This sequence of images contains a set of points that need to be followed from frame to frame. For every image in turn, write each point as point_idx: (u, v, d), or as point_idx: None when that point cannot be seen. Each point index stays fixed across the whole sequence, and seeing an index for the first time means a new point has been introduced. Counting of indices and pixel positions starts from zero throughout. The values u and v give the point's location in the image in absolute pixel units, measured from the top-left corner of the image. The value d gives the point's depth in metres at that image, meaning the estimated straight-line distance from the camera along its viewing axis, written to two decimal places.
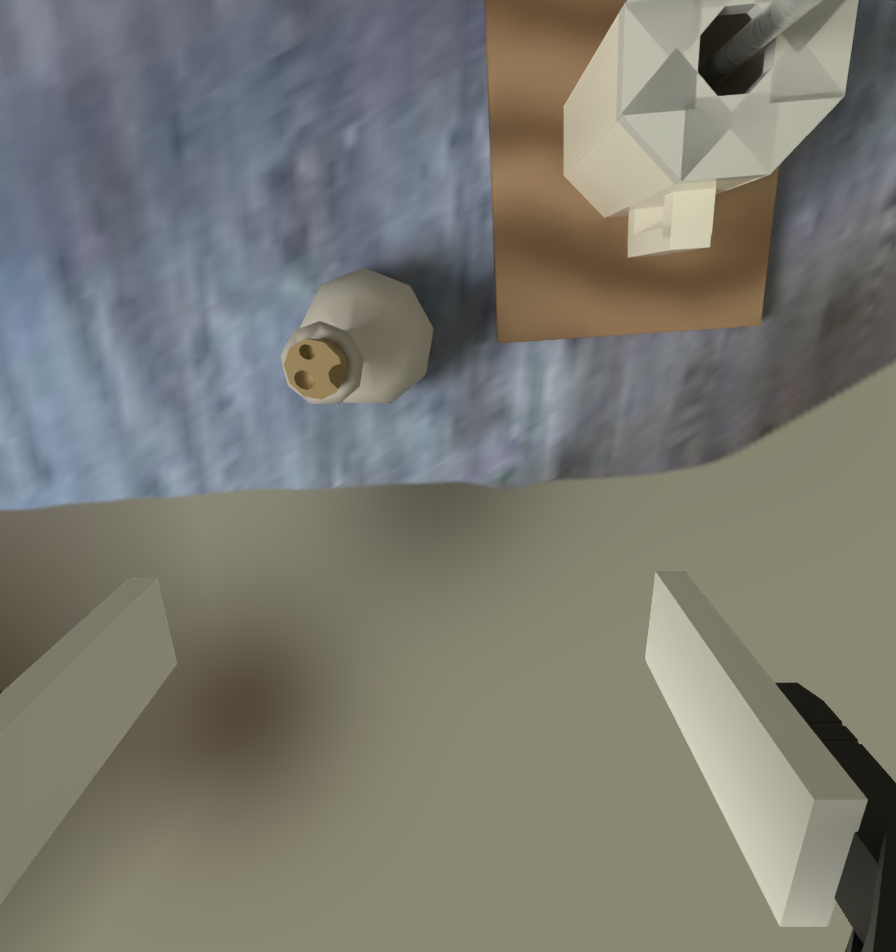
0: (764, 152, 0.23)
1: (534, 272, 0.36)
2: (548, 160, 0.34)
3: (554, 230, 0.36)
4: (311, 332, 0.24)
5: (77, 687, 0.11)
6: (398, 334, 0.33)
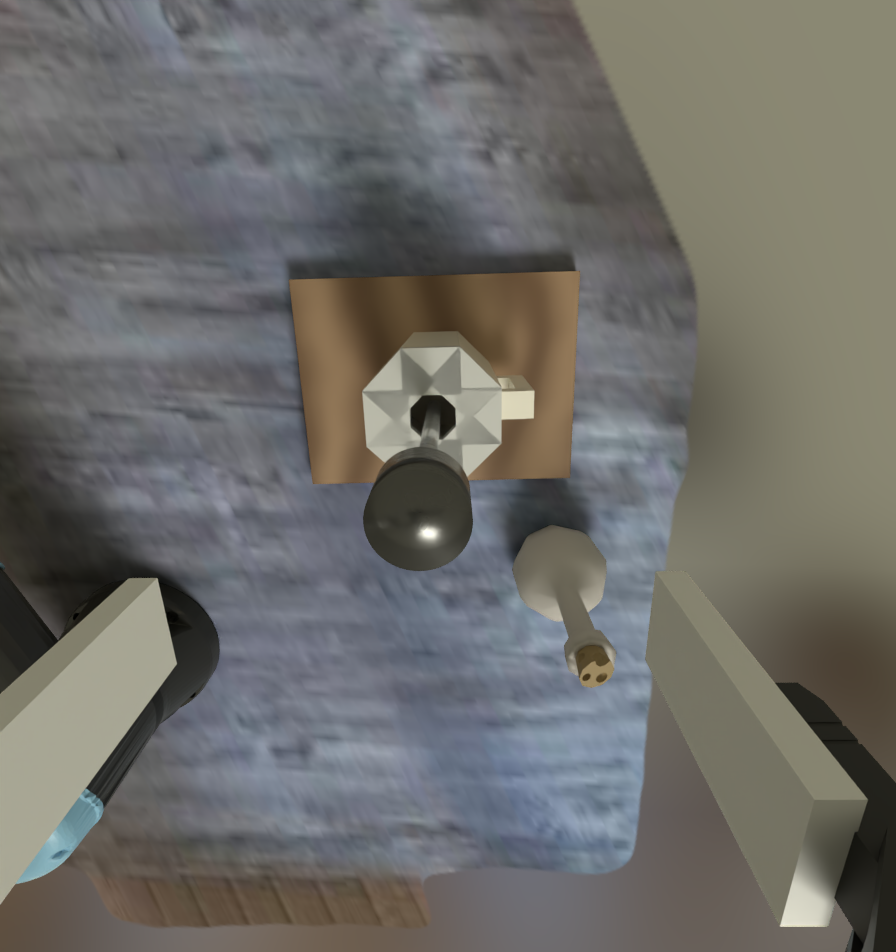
0: (488, 393, 0.35)
1: (522, 452, 0.50)
2: None
3: None
4: (571, 661, 0.40)
5: (77, 687, 0.11)
6: (562, 567, 0.47)
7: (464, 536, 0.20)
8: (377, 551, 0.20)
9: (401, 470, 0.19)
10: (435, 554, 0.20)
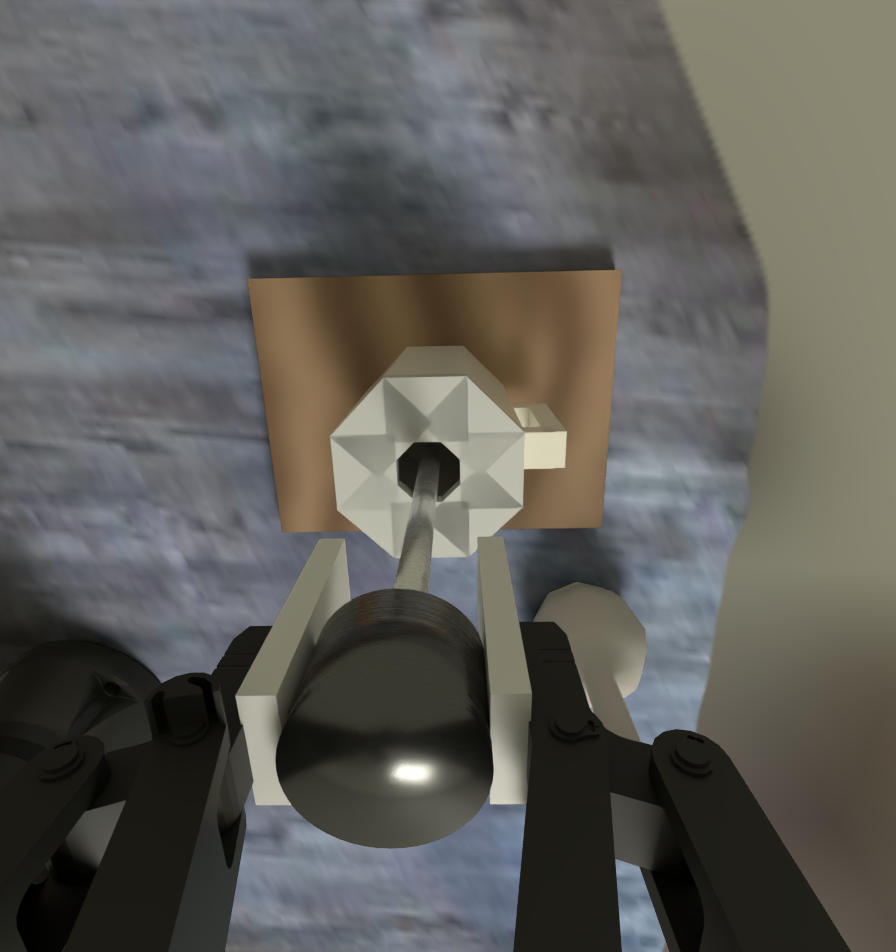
0: (506, 440, 0.25)
1: (542, 496, 0.40)
2: None
3: None
4: None
5: (319, 622, 0.13)
6: (593, 645, 0.37)
7: (476, 795, 0.10)
8: (306, 817, 0.10)
9: (350, 673, 0.10)
10: (419, 823, 0.10)
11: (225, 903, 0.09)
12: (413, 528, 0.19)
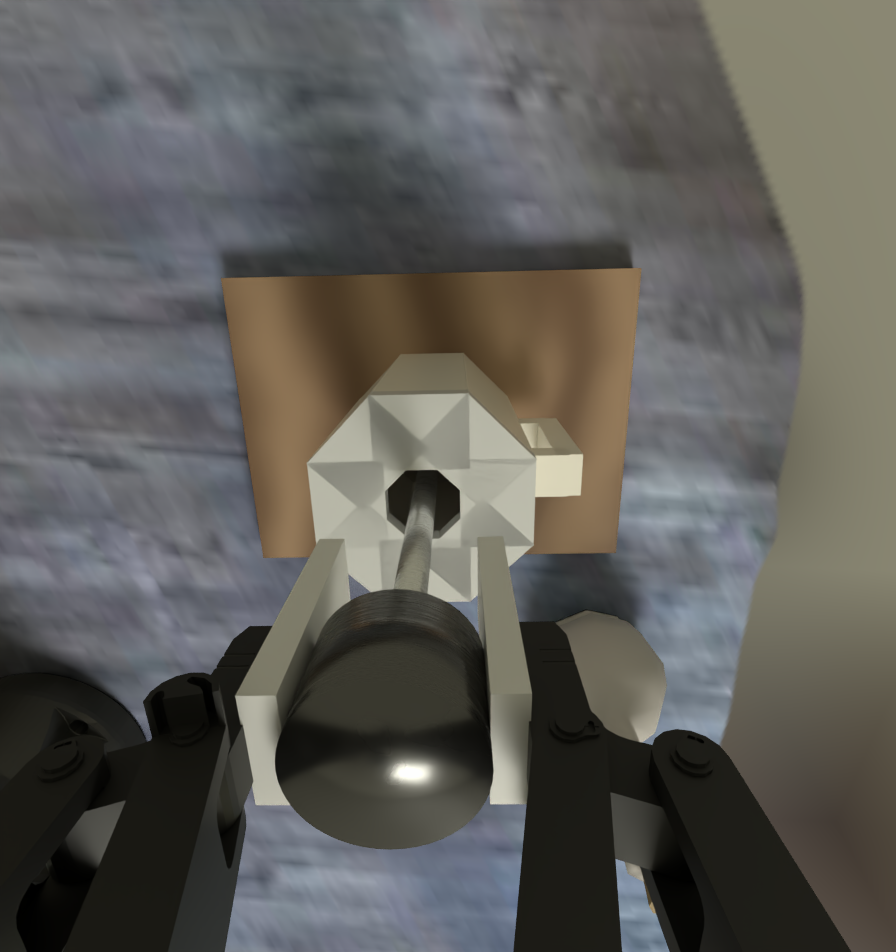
0: (514, 467, 0.21)
1: (551, 519, 0.36)
2: None
3: None
4: None
5: (319, 622, 0.13)
6: (608, 686, 0.34)
7: (476, 795, 0.10)
8: (305, 818, 0.10)
9: (348, 674, 0.10)
10: (419, 823, 0.10)
11: (225, 903, 0.09)
12: (412, 528, 0.19)
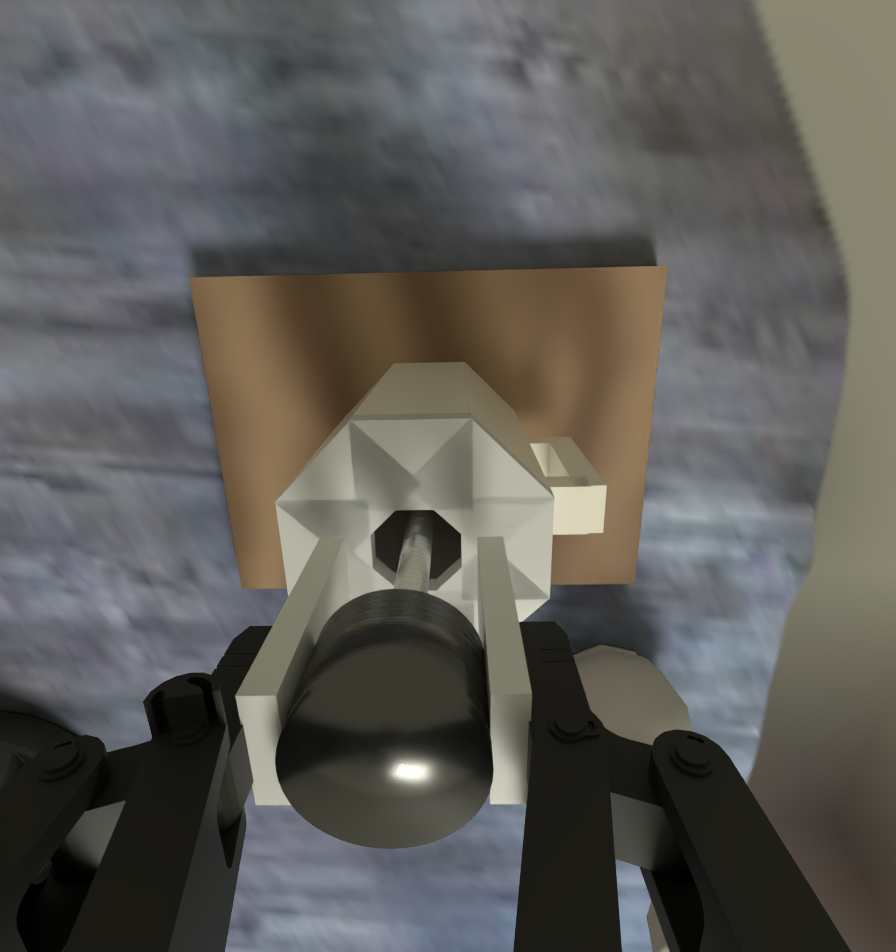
0: (527, 507, 0.18)
1: (562, 546, 0.32)
2: None
3: None
4: None
5: (319, 622, 0.13)
6: (628, 737, 0.30)
7: (476, 795, 0.10)
8: (305, 817, 0.10)
9: (349, 674, 0.10)
10: (419, 823, 0.10)
11: (224, 903, 0.09)
12: (413, 528, 0.19)
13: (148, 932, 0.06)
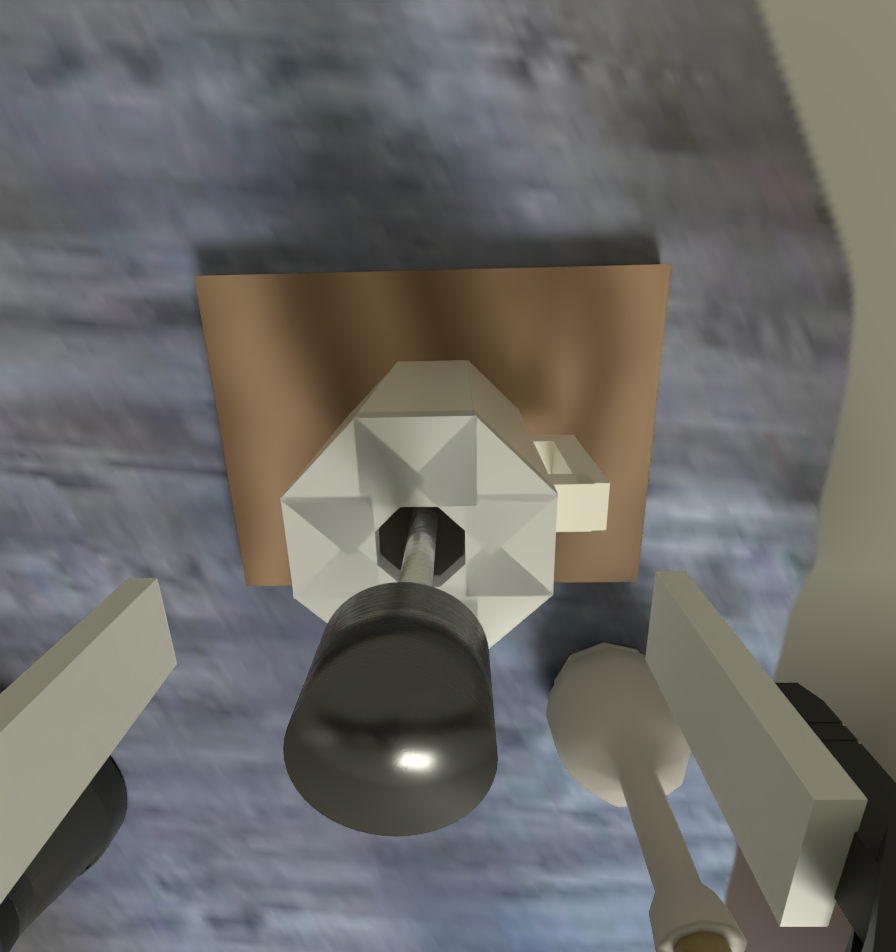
0: (531, 504, 0.18)
1: (565, 544, 0.32)
2: None
3: None
4: None
5: (77, 687, 0.11)
6: (631, 734, 0.30)
7: (480, 783, 0.10)
8: (313, 805, 0.11)
9: (356, 664, 0.10)
10: (424, 811, 0.11)
11: None
12: (417, 524, 0.19)
13: None
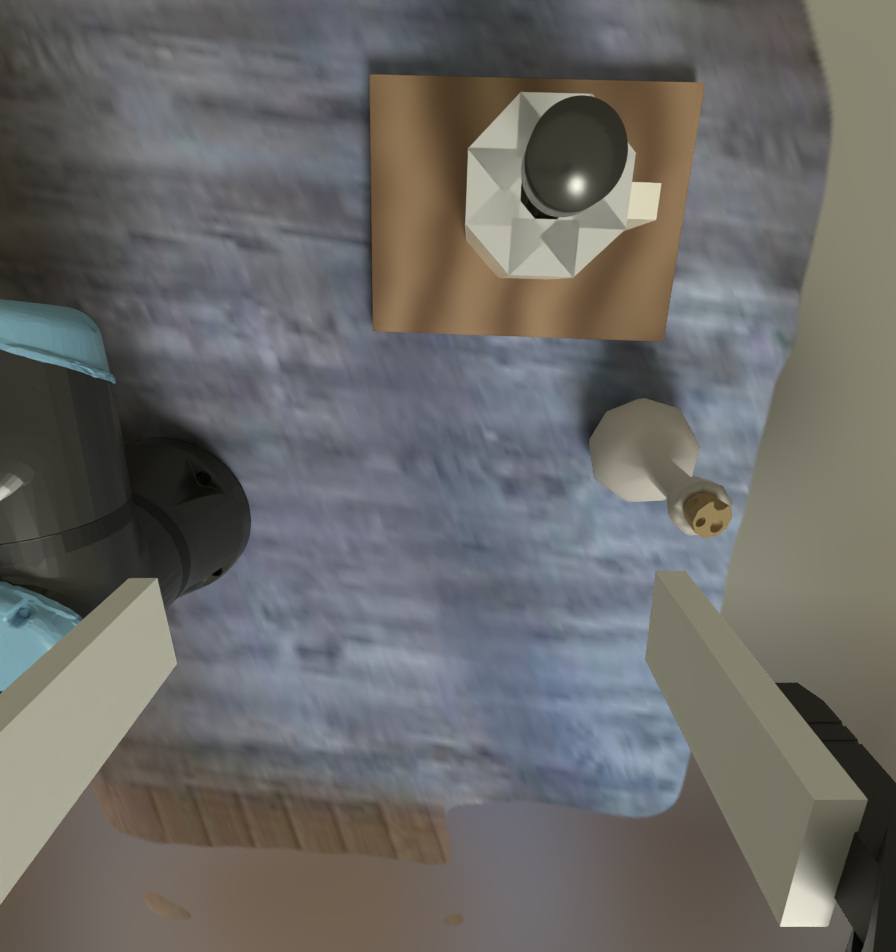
0: None
1: (612, 307, 0.44)
2: (532, 291, 0.44)
3: (583, 288, 0.43)
4: (677, 512, 0.34)
5: (77, 687, 0.11)
6: (654, 432, 0.42)
7: (617, 172, 0.22)
8: (536, 184, 0.22)
9: (568, 99, 0.21)
10: (588, 191, 0.22)
11: None
12: None
13: None
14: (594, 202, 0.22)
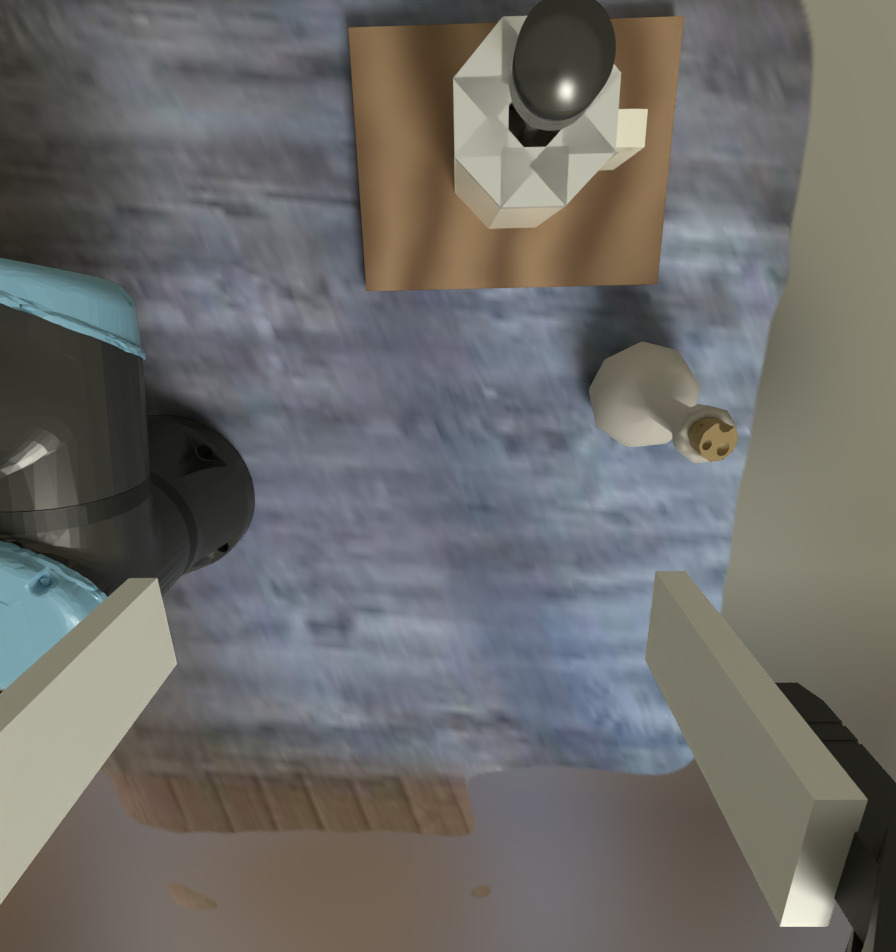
0: None
1: (604, 251, 0.44)
2: (523, 240, 0.44)
3: (574, 234, 0.43)
4: (682, 440, 0.34)
5: (77, 687, 0.11)
6: (654, 372, 0.42)
7: (606, 69, 0.22)
8: (525, 87, 0.22)
9: None
10: (578, 91, 0.22)
11: None
12: None
13: None
14: (585, 103, 0.22)
